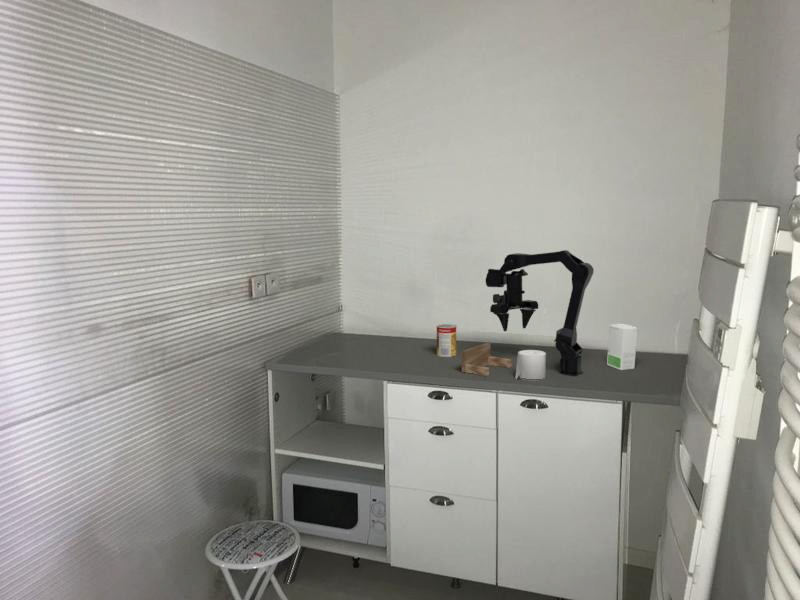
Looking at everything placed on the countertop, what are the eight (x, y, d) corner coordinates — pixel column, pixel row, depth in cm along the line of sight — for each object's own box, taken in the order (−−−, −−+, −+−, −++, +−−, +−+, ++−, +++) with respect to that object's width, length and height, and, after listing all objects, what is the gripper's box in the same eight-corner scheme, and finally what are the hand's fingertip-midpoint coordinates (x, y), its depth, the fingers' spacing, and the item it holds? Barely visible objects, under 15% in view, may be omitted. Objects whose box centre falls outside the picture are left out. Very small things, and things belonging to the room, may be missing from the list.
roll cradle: (511, 367, 240) (511, 346, 239) (486, 376, 227) (486, 354, 226) (486, 363, 246) (487, 342, 245) (461, 372, 233) (461, 350, 232)
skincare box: (606, 365, 241) (607, 324, 239) (620, 363, 243) (622, 322, 241) (621, 370, 233) (623, 328, 231) (636, 368, 236) (638, 326, 233)
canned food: (456, 352, 265) (456, 323, 263) (456, 357, 257) (456, 327, 255) (437, 352, 265) (437, 323, 264) (436, 357, 258) (436, 327, 256)
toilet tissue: (511, 381, 221) (511, 356, 220) (522, 372, 233) (523, 348, 231) (537, 384, 217) (537, 359, 216) (547, 375, 229) (548, 351, 227)
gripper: (518, 284, 249) (519, 324, 251) (480, 288, 240) (481, 329, 242) (539, 286, 240) (539, 327, 242) (500, 290, 230) (500, 334, 232)
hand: (514, 329), depth 240 cm, fingers open, 9 cm apart
